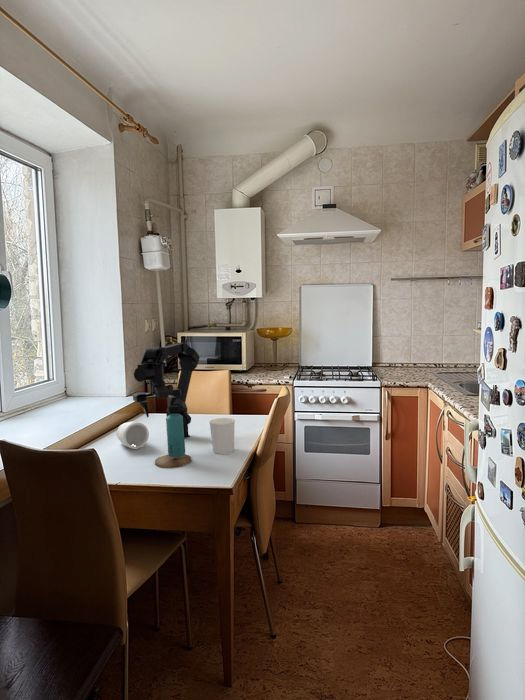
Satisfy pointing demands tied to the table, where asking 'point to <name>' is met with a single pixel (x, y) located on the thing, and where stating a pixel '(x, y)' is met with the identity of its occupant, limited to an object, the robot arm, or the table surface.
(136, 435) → the jar
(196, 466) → the table surface
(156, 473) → the table surface
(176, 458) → the walnut coaster
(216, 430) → the white cup
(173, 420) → the beverage bottle
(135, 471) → the table surface
